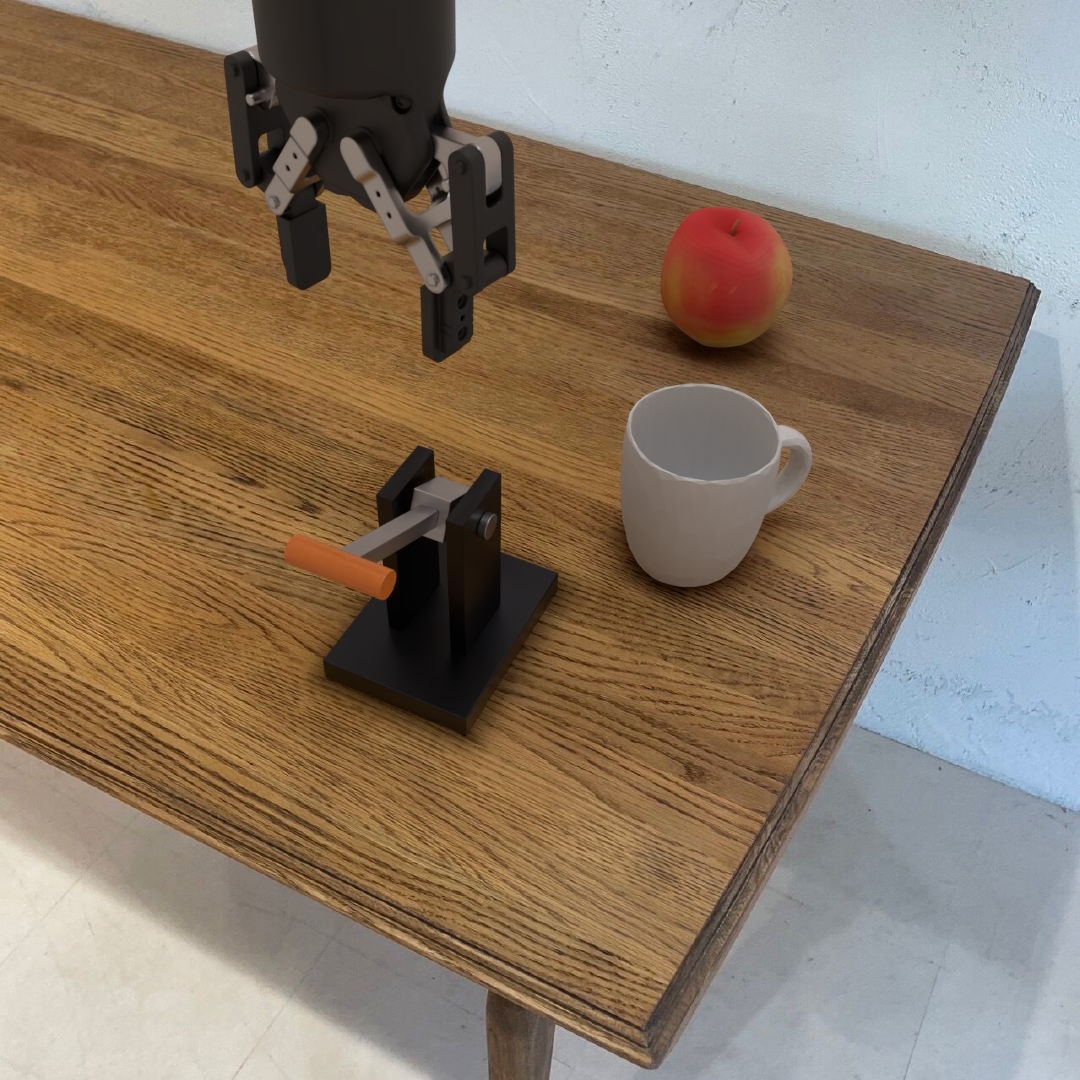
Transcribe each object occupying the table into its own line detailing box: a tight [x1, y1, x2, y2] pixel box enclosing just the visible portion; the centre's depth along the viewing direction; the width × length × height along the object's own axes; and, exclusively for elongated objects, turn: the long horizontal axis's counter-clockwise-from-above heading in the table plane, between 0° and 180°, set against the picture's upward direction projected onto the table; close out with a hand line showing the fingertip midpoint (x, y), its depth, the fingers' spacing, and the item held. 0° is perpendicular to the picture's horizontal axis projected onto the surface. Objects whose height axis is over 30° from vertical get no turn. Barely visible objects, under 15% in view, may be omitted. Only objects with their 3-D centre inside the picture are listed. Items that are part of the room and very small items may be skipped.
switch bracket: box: [322, 444, 559, 736], centre depth 63 cm, size 12×9×12 cm
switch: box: [283, 475, 471, 600], centre depth 56 cm, size 12×5×2 cm, turn 155°
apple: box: [659, 206, 794, 348], centre depth 85 cm, size 10×10×10 cm
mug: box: [619, 382, 813, 588], centre depth 69 cm, size 13×9×10 cm
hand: (375, 316), depth 52 cm, fingers open, 8 cm apart
